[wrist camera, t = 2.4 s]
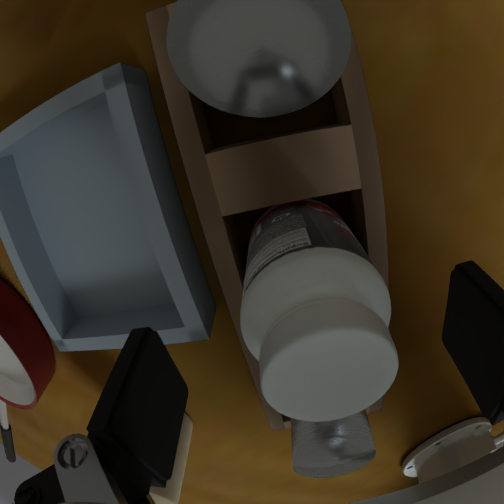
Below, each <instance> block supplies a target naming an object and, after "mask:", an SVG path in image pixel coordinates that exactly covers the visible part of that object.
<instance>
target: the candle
mask: <svg viewBox="0 0 504 504" xmlns="http://www.w3.org/2000/svg"><path fill="white" fill-rule="evenodd" d="M192 429H193V422H192V420H191V418H190V417H189V416H188V415H187V414H186V413H185V412H184V417H183V422H182V427H181V432H180V437H179V442H178V447H177V452H176V457H175V462H174V468H173V473H172V477H171V479H170V480H167V483H166V488H161V487H152V486H151V487H150V491H149V494H150V495H151V497H152V499H153V500H154V502H155V503H156V504H178V503H179V497H180V492H181V487H182V481H183V476H184V471H185V466H186V461H187V455H188V450H189V445H190V440H191V435H192Z"/></svg>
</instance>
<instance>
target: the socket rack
mask: <svg viewBox="0 0 504 504" xmlns="http://www.w3.org/2000/svg"><path fill="white" fill-rule="evenodd" d="M339 1H340V3H341V4H342V6H343V8H344V10H345V7H344V4H343V1H342V0H339ZM177 2H178V1H177ZM177 2H174V3H171V4H168V5H166V6H163V7H160V8H157V9H155V10H152V11H149V12H147V13H145V15H146V19H147V24H148V28H149V33H150V37H151V41H152V45H153V50H154V54H155V58H156V62H157V66H158V70H159V74H160V78H161V82H162V86H163V90H164V94H165V98H166V102H167V105H168V109H169V113H170V117H171V121H172V124H173V128H174V132H175V135H176V139H177V143H178V146H179V150H180V153H181V157H182V160H183V164H184V167H185V171H186V174H187V178H188V181H189V185H190V188H191V192H192V195H193V198H194V202H195V205H196V208H197V212H198V215H199V218H200V222H201V225H202V228H203V231H204V235H205V238H206V241H207V244H208V247H209V251H210V254H211V257H212V260H213V263H214V266H215V269H216V273H217V276H218V279H219V282H220V285H221V288H222V291H223V294H224V297H225V300H226V303H227V306H228V309H229V312H230V315H231V318H232V321H233V324H234V327H235V330H236V333H237V335H238V338H239V341H240V344H241V347H242V350H243V353H244V356H245V358H246V361H247V364H248V367H249V370H250V372H251V375H252V378H253V381H254V383H255V386H256V389H257V392H258V394H259V397H260V400H261V402H262V405H263V408H264V411H265V413H266V416H267V418H268V421H269V424H270V426H271V429H272V430H281V429H289V428H291V418H290V417H288V416H285V415H283V414H281V413H279V412H277V411H276V410H275V409H274V408H272V407H271V406H270V405H269V404H268V402H267V401H266V399H265V398H264V396H263V394H262V391H261V386H260V366H259V361H258V360H257V359H256V358H255V357H254V356H253V355H252V353H251V352H250V351H249V349H248V347H247V345H246V343H245V341H244V339H243V335H242V331H241V324H240V309H241V303H242V296H243V288H244V278H245V271H246V264H245V261H244V257H243V253H242V250H241V246H240V242H239V239H238V235H237V231H236V228H235V224H234V220H233V217H232V214H236V213H241V212H245V211H250V210H254V209H259V208H264V207H269V206H273V205H278V204H283V203H288V202H293V201H298V200H303V199H308V198H313V197H318V196H323V195H329V194H334V193H339V192H345V191H350V198H351V205H352V213H353V221H354V230H355V238H356V239H357V241H358V242H359V244H360V245H361V246H362V248H363V249H364V251H365V253H366V254H367V256H368V257H369V259H370V260H371V261H372V263H373V264H374V266H375V267H376V269H377V270H378V271H379V273H380V274H381V276H382V277H383V280H384V282H385V284H386V287H387V289H388V292H389V273H388V246H387V230H386V216H385V205H384V195H383V185H382V177H381V169H380V161H379V154H378V147H377V141H376V135H375V129H374V123H373V118H372V113H371V107H370V102H369V98H368V93H367V88H366V84H365V79H364V75H363V71H362V67H361V63H360V59H359V55H358V51H357V47H356V44H355V40H354V37H353V33H352V30H351V50H350V54H349V59H348V62H347V64H346V67H345V69H344V71H343V73H342V74H341V76H340V78H339V79H338V81H337V82H336V83H335V84H334V86H333V87H332V88H331V94H332V98H333V103H334V107H335V112H336V117H337V122H338V123H336V124H330V125H323V126H317V127H312V128H306V129H300V130H295V131H290V132H285V133H280V134H275V135H270V136H265V137H261V138H256V139H252V140H247V141H243V142H239V143H235V144H231V145H227V146H223V147H219V148H215V149H214V146H213V142H212V138H211V134H210V131H209V127H208V123H207V119H206V115H205V112H204V108H203V104H202V100H200V99H199V98H198V97H196V96H195V95H194V94H193V93H191V92H190V91H189V90H188V89H187V88H186V86H185V85H184V84H183V83H182V82H181V80H180V79H179V78H178V76H177V75H176V73H175V71H174V69H173V67H172V65H171V62H170V59H169V56H168V50H167V28H168V23H169V19H170V16H171V13H172V11H173V9H174V7H175V5H176V3H177ZM345 12H346V11H345ZM346 15H347V14H346ZM349 25H350V23H349ZM350 29H351V26H350ZM383 399H384V395H383V396H382V397H381V398H380V399H379V400H377V401H376V402H375V403H373V404H372V405H370V406H369V407H368V408H366V413H367V414H368V413H372V412H376V411H380V410H382V408H383Z"/></svg>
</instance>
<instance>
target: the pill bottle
mask: <svg viewBox="0 0 504 504" xmlns="http://www.w3.org/2000/svg"><path fill="white" fill-rule="evenodd" d="M390 317H391V301H390V296H389V292H388V289H387V287H386V284H385V282H384V280H383V277H382V276H381V274H380V273H379V271H378V270H377V269H376V267H375V266H374V264H373V263H372V261H371V260H370V259H369V257H368V256H367V254H366V253H365V251H364V249H363V248H362V246H361V245H360V244H359V242H358V241H357V239H356V238H355V236H354V235H353V233H352V232H351V230H350V229H349V228H348V226H347V225H346V223H345V222H344V221H343V220H342V218H341V217H340V216H339V215H338V213H337V212H336V211H334V210H333V209H332V208H331V207H329V206H328V205H326V204H324V203H322V202H320V201H317V200H313V199H303V200H298V201H293V202H288V203H283V204H278V205H274V206H272V207H270V208H269V209H268V210H267V211H266V212H265V213H264V214H263V215H262V216H261V217H260V218H259V219H258V221H257V222H256V224H255V226H254V228H253V230H252V233H251V236H250V242H249V247H248V255H247V264H246V271H245V278H244V288H243V296H242V303H241V309H240V324H241V331H242V335H243V339H244V341H245V343H246V345H247V347H248V349H249V351H250V352H251V353H252V355H253V356H254V357H255V358H256V359H257V360H258V361H259V366H260V386H261V391H262V394H263V396H264V398H265V399H266V401H267V402H268V404H269V405H270V406H271V407H272V408H274V409H275V410H276V411H277V412H279V413H281V414H283V415H285V416H288V417H290V418H294V419H297V420H302V421H311V422H320V421H331V420H336V419H341V418H345V417H348V416H350V415H353V414H356V413H358V412H360V411H362V410H364V409H366V408H368V407H369V406H370V405H372V404H373V403H375V402H376V401H377V400H379V399H380V398H381V397H382V396H383V395H384V394H385V393H386V392H387V391H388V389H389V388H390V387H391V385H392V383H393V382H394V380H395V377H396V375H397V371H398V365H399V362H398V354H397V350H396V347H395V345H394V342H393V340H392V338H391V335H390V332H389V329H388V326H389V323H390Z"/></svg>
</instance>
